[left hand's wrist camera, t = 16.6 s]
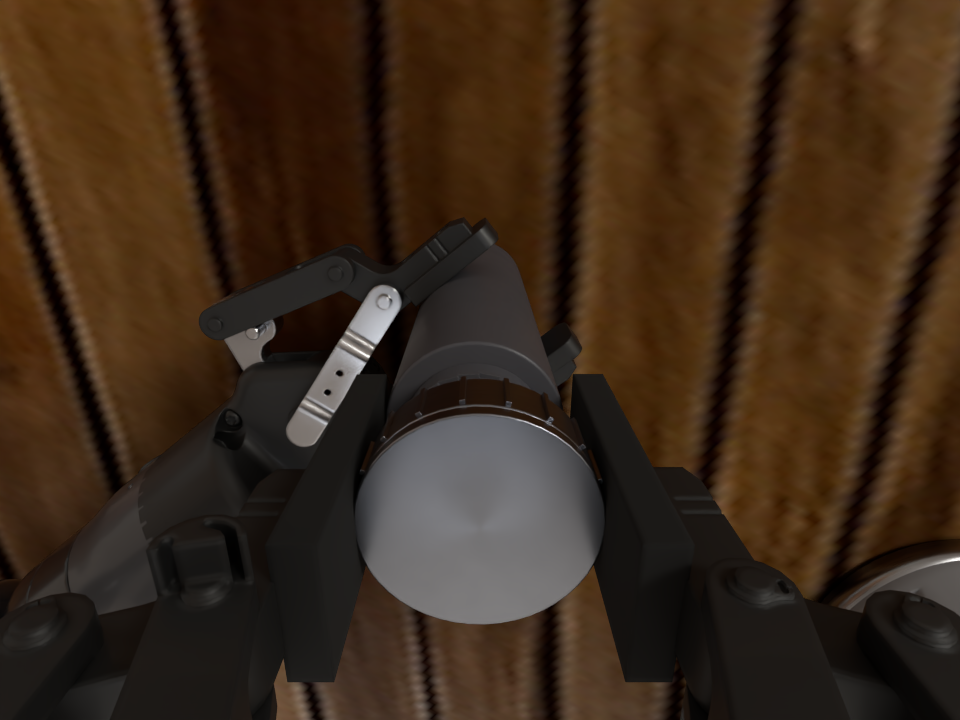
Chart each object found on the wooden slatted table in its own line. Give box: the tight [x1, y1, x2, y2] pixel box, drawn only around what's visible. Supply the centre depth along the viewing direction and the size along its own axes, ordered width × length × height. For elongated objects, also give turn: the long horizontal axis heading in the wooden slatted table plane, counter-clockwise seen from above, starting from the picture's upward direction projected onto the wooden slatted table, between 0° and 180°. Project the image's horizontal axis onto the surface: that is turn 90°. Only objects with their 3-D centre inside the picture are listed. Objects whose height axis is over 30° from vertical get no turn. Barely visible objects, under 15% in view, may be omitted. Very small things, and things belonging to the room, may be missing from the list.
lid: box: [354, 376, 606, 624], centre depth 11 cm, size 5×5×2 cm
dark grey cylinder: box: [386, 244, 563, 421], centre depth 20 cm, size 4×4×16 cm
